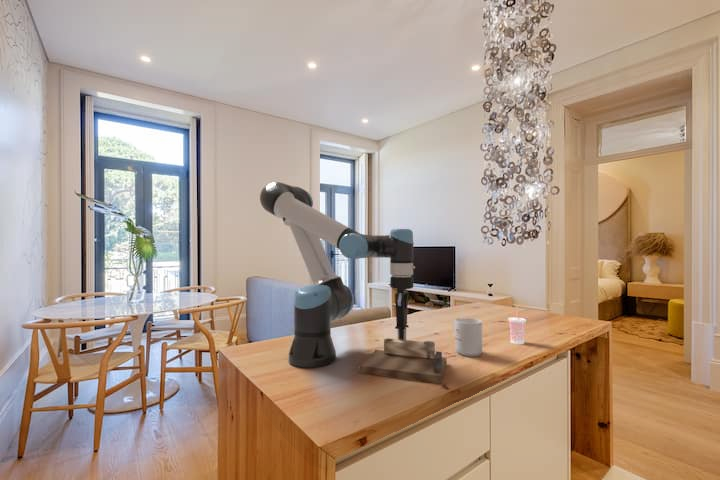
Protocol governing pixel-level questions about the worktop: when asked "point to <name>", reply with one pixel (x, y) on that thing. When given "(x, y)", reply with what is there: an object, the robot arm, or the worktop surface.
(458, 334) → the mug
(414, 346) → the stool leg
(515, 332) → the beverage cup
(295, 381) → the worktop surface
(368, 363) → the wooden base board
